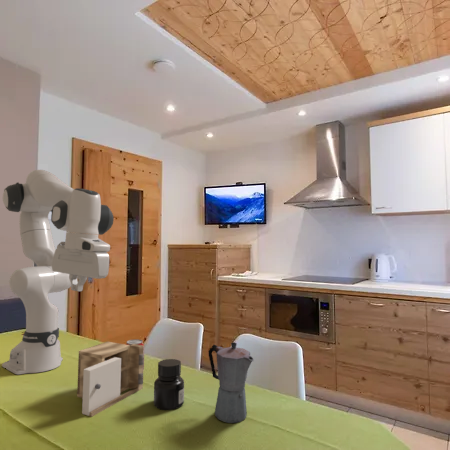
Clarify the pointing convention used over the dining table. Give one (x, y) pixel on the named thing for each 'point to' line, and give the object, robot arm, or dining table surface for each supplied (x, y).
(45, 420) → the dining table surface
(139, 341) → the soda can
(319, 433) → the dining table surface
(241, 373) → the moka pot
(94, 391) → the door
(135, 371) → the cabinet
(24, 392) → the dining table surface
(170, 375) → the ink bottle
